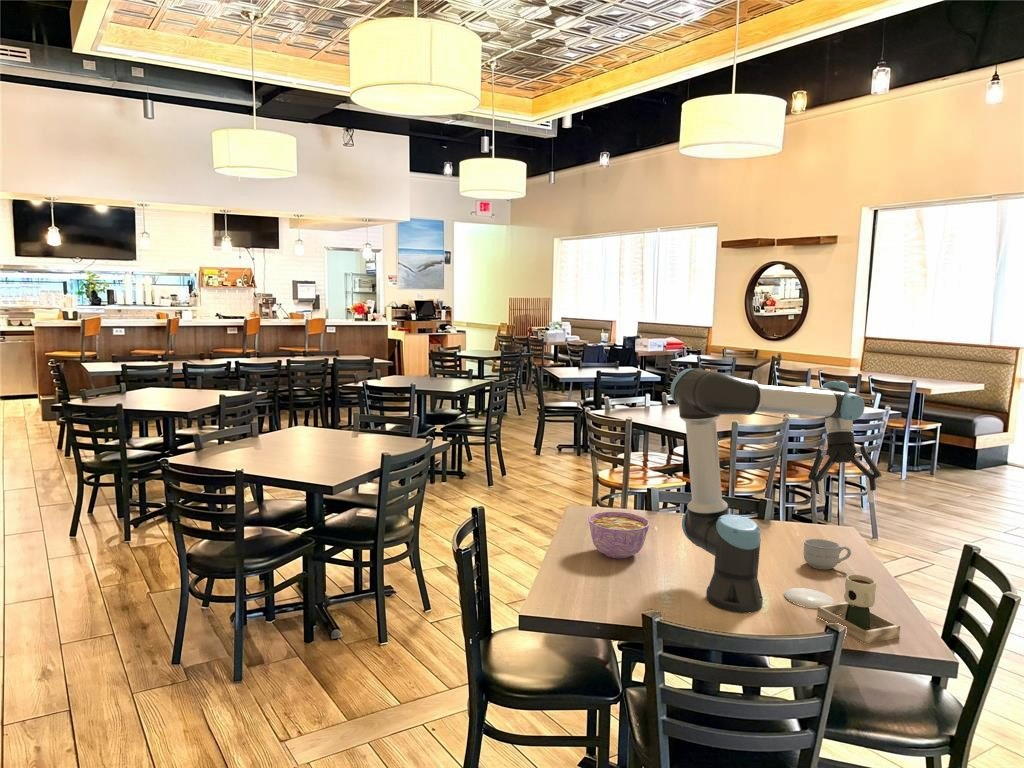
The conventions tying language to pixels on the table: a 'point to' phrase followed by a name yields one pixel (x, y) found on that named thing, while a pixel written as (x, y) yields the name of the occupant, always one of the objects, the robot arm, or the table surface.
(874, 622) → the wooden tray
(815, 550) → the teacup
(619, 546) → the bowl of food
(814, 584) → the table surface
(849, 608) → the character mug
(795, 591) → the white saucer
